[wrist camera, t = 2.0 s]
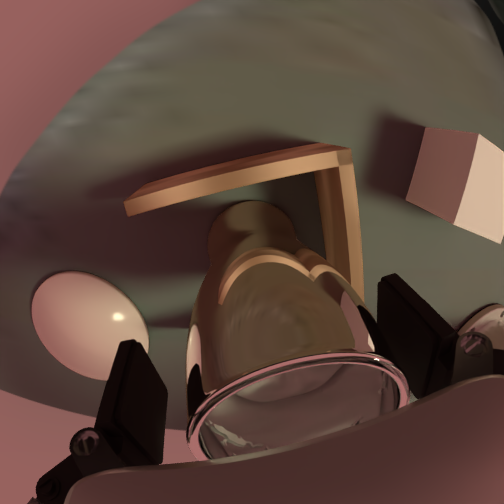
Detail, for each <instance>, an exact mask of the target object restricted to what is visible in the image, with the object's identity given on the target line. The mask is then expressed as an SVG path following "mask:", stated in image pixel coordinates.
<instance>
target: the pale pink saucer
mask: <svg viewBox="0 0 504 504" xmlns="http://www.w3.org/2000/svg"><path fill="white" fill-rule="evenodd" d="M32 319H33V323H34V327H35V329H36V332H37V334H38V336H39V338H40V340H41V341H42V343H43V344H44V346H45V347H46V348H47V350H48V351H49V352H50V353H51V354H52V355H53V356H54V357H55V358H56V359H57V360H58V361H59V362H61V363H62V364H63V365H65V366H66V367H67V368H69V369H71V370H73V371H74V372H76V373H79V374H81V375H83V376H86V377H89V378H93V379H98V380H108V378H109V374H110V371H111V368H112V365H113V362H114V358H115V355H116V352H117V349H118V346H119V343H120V342H121V341H125V340H131V339H135V340H136V341H137V342H140V343H141V344H142V345H143V347H144V349H145V351H146V353H148V349H149V333H148V329H147V325H146V323H145V320H144V318H143V316H142V314H141V312H140V311H139V310H138V308H137V307H136V305H135V304H134V303H133V302H132V300H131V299H130V298H129V297H128V296H127V295H126V294H125V293H124V292H123V291H121V290H120V289H119V288H117V287H116V286H115V285H113V284H111V283H110V282H108V281H107V280H105V279H103V278H100V277H98V276H96V275H93V274H90V273H86V272H80V271H65V272H60V273H57V274H54V275H52V276H51V277H49V278H48V279H47V280H45V281H44V282H43V283H42V284H41V285H40V287H39V288H38V289H37V291H36V293H35V295H34V298H33V301H32Z"/></svg>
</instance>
